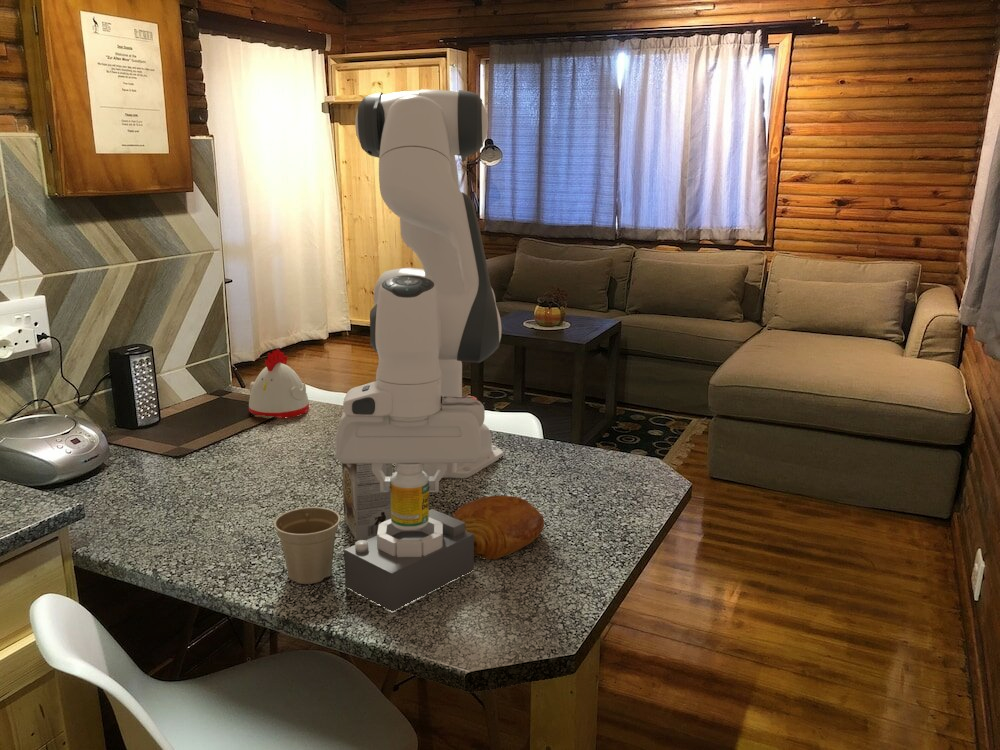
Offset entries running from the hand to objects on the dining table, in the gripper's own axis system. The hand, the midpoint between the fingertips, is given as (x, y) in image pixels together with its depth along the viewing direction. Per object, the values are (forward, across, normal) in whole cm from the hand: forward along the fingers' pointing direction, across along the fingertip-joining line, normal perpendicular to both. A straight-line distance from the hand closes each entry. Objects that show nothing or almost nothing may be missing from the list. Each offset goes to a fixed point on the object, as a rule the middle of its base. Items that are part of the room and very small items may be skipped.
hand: (409, 490), depth 115 cm
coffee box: (+14, +8, -18) cm, 24 cm away
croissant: (+14, -13, -13) cm, 23 cm away
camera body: (+14, 0, 0) cm, 14 cm away
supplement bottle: (+5, 0, 0) cm, 5 cm away
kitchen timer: (+14, +35, -83) cm, 91 cm away
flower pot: (+14, +15, -2) cm, 21 cm away
